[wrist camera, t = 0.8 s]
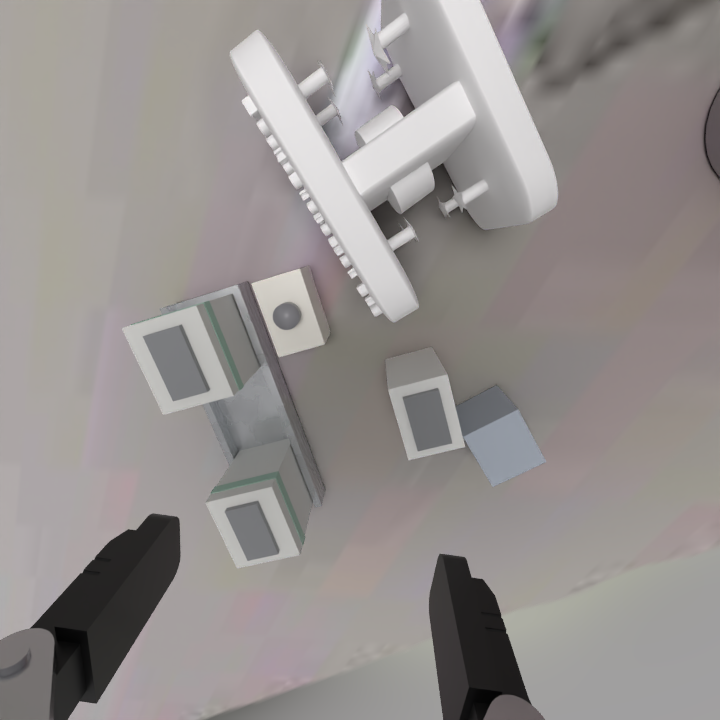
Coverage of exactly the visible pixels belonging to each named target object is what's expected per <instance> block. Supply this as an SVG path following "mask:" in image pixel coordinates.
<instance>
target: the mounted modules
mask: <svg viewBox="0 0 720 720" xmlns="http://www.w3.org/2000/svg"><path fill="white" fill-rule="evenodd" d="M122 330H123V332H124V334H125V336H126V338H127V340H128V343H129V345H130V347H131V349H132V351H133V353H134V355H135V357H136V359H137V361H138V363H139V365H140V367H141V370H142V372H143V374H144V376H145V378H146V380H147V382H148V384H149V386H150V388H151V390H152V392H153V395H154V397H155V399H156V401H157V403H158V405H159V407H160V409H161V411H162V413H163V415H165V414H169V413H172V412H176V411H180V410H183V409H187V408H191V407H195V406H198V405H202V404H206V403H209V402H213V401H217V400H220V399H224V398H228V397H231V396H234V395H235V394H236V393H237V392H238V391H240V390H241V389H242V388H243V387H244V384H245V383H246V382H247V381H248V380H249V379H250V378H251V377H252V376H253V375H254V374H255V373H256V371H257V370H258V369H259V368H260V367H261V366H260V363H259V361H258V358H257V355H256V353H255V350H254V348H253V345H252V342H251V340H250V337H249V335H248V332H247V329H246V327H245V324H244V322H243V319H242V317H241V314H240V311H239V309H238V306H237V304H236V301H235V298H234V296H233V293H232V294H229V295H226V296H222V297H219V298H216V299H212V300H209V301H206V302H203V303H199V304H196V305H193V306H189V307H186V308H183V309H180V310H176V311H173V312H170V313H167V314H163V315H160V316H157V317H154V318H150V319H147V320H144V321H141V322H137V323H134V324H131V326H128V327H125V328H122ZM312 503H313V500H312V498H311V495H310V492H309V490H308V487H307V485H306V482H305V480H304V477H303V474H302V472H301V469H300V467H299V464H298V461H297V459H296V456H295V454H294V451H293V448H292V446H291V443H290V441H289V438H288V439H284V440H280V441H276V442H272V443H269V444H265V445H261V446H257V447H253V448H249V449H245V450H241V451H239V452H238V454H237V455H236V457H235V458H234V460H233V461H232V463H231V465H230V466H229V468H228V469H227V471H226V472H225V474H224V475H223V477H222V478H221V480H220V481H219V483H218V484H217V486H215V487H214V489H213V490H212V492H211V495H210V497H209V498H208V500H207V501H206V505H207V507H208V509H209V511H210V513H211V515H212V517H213V519H214V521H215V524H216V526H217V528H218V530H219V532H220V534H221V536H222V538H223V540H224V542H225V544H226V546H227V549H228V551H229V553H230V555H231V557H232V559H233V561H234V563H235V565H236V567H237V568H242V567H246V566H251V565H256V564H260V563H265V562H270V561H274V560H279V559H284V558H288V557H293V556H298V555H300V553H301V549H302V545H303V544H304V540H305V532H306V528H307V524H308V520H309V515H310V511H311V507H312Z"/></svg>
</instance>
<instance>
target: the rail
mask: <svg viewBox="0 0 720 720" xmlns="http://www.w3.org/2000/svg"><path fill="white" fill-rule="evenodd" d="M232 293H233V296H234V298H235V301H236V304H237V306H238V309H239V311H240V314H241V317H242V319H243V322H244V324H245V327H246V329H247V332H248V335H249V337H250V340H251V342H252V345H253V348H254V350H255V353H256V355H257V358H258V361H259V363H260V366H261V367H260V368H259V369H258V370H257V371H256V373H255V374H254V375H253V376H252V377H251V378H250V379H249V380H248V381H247V382H246V383H245V384H244V387H243V388H242V389H241V390H240V391H238V392H237V393H236V394H235V395H234V396H231V397H228V398H224V399H220V400H217V401H213V402H209V403H206V404H202V405H203V407H204V409H205V412H206V414H207V416H208V418H209V421H210V423H211V425H212V427H213V430H214V432H215V434H216V436H217V439H218V441H219V443H220V445H221V448H222V450H223V452H224V454H225V457H226V459H227V461H228V463H229V466H230V465H231V463H232V461H233V460H234V458H235V457H236V455H237V454H238V452H239V451H241V450H245V449H249V448H253V447H257V446H261V445H265V444H269V443H272V442H276V441H280V440H284V439H288V438H289V441H290V443H291V446H292V448H293V451H294V454H295V456H296V459H297V461H298V464H299V467H300V469H301V472H302V474H303V477H304V480H305V482H306V485H307V487H308V490H309V492H310V495H311V498H312V500H313V503H314V505H315V507H320V506H322V502H323V497H324V492H325V488H324V485H323V482H322V479H321V477H320V474H319V471H318V469H317V466H316V463H315V461H314V458H313V455H312V453H311V450H310V447H309V444H308V442H307V439H306V436H305V434H304V431H303V428H302V426H301V423H300V420H299V418H298V415H297V412H296V410H295V407H294V404H293V401H292V399H291V396H290V393H289V391H288V388H287V385H286V383H285V380H284V377H283V375H282V372H281V369H280V366H279V364H278V361H277V358H276V356H275V353H274V350H273V348H272V345H271V342H270V340H269V337H268V334H267V332H266V329H265V326H264V323H263V321H262V318H261V315H260V313H259V310H258V307H257V305H256V302H255V299H254V297H253V294H252V291H251V289H250V286H249V283H248V282H245V283H242V284H238V285H235V286H231V287H229V288H225V289H222V290H219V291H216V292H213V293H209V294H206V295H203V296H200V297H196V298H193V299H190V300H187V301H183V302H180V303H177V304H174V305H170V306H167V307H163V308H160V311H161V313H162V315H163V314H167V313H170V312H173V311H176V310H180V309H183V308H186V307H189V306H193V305H196V304H199V303H203V302H206V301H209V300H212V299H216V298H219V297H222V296H226V295H229V294H232Z"/></svg>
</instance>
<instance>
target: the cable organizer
mask: <svg viewBox="0 0 720 720" xmlns="http://www.w3.org/2000/svg"><path fill="white" fill-rule="evenodd" d="M366 26H367V24H366ZM367 29H368V33H369V37H370V41H371V45H372V49H373V53H374V56H375V57H376V58H377V60H378V61H379V63H380V64H381V66H382V67H383V69H384V70H385V73H384V74H382V75H381V76H380V77H378V78H377V79H375V76H374V72H373V75H371V74H370V72H369V71H368V72H369V75H370V78H371V81H372V84H373V89H375V90H376V92H377V94H378V96H379V97H380V93H379V92H382V90H383V89H385V88H386V87H387V86H389V85H390V84H392V83H393V82H394V81H396V80H397V79H398V78H400V80H401V82H402V84H403V86H404V88H405V90H406V92H407V94H408V96H409V98H410V100H411V102H412V104H413V105H414V107H415V110H413V111H412V112H411V113H409V114H408V115H406V116H405V117H403V115H402V114H401V112H400V111H399V110H398V109H397V108H396V107H395V106H393V105H391V106H389V107H388V108H387V109H385V110H384V111H382V112H381V113H380V114H378V115H377V116H375V117H374V118H373V119H371V120H370V121H368V122H367V123H366V124H364V125H363V126H362V127H360V128H359V129H357V130H356V131H355V137H356V141H357V144H358V146H359V149H358V150H357V151H355V152H354V153H353V154H351V155H350V156H348V157H347V158H346V159H344V160H343V161H341V160H340V158H339V156H338V154H337V153H336V151H335V149H334V147H333V146H332V144H331V142H330V140H329V139H328V137H327V135H326V133H325V132H324V130H323V128H322V126H323V125H324V124H326V123H327V122H328V121H330V120H331V119H333V118H334V117H335V116H338V117H339V119H340V121H341V116H340V114H339V111H338V109H337V107H336V106H335V104H334V103H333V101H331V100H330V99H329V100H330V102H331V105H329V106H328V107H327V108H325V109H324V110H322V111H321V112H320V113H318V114H317V115H316V116H315V114H314V113H313V111H312V109H311V107H310V106H309V104H308V102H307V100H306V99H307V98H308V97H309V96H311V95H312V94H313V93H315V92H316V91H317V90H319V89H320V88H321V87H322V86H324V85H325V84H326V83H328V85H329V86H330V88H331V89H332V91H333V93H334V90H333V87H332V86H333V85H332V82H331V79H330V77H329V74H328V73H327V71H326V70H325V68H324V66H323V65H322V63H321V61H320V63H321V65H320V63H319V62H318V61H317V62H318V64H319V66H320V68H319V69H318V70H317V71H315V72H314V73H313V74H311V75H310V76H309V77H308V78H306V79H305V80H304V81H302V82H301V83H300V84H298V85H297V83H296V81H295V80H294V78H293V76H292V74H291V73H290V71H289V69H288V68H287V66H286V65H285V63H284V61H283V60H282V58H281V57H280V55H279V54H278V52H277V51H276V49H275V48H274V47H273V45H272V44H271V42H270V41H269V40H268V39H267V37H266V36H265V35H264V34H263V33H262V32H261V31H259V30H255V31H254V32H253V33H252V34H251V35H249V36H248V37H247V38H246V39H245V40H243V41H242V42H241V43H240V44H238V45H237V46H236V47H235V48H234V49H232V50H231V51H230V58H231V61H232V64H233V66H234V68H235V71H236V73H237V75H238V77H239V79H240V81H241V83H242V85H243V87H244V88H245V90H246V92H247V94H248V96H247V97H246V98H244V99H243V100H242V103H243V105H244V106H245V108H246V109H247V111H248V113H249V114H250V116H251V117H252V116H253V117H254V118H255V119H256V120H257V121H258V120H259V119H261V118H262V119H261V120H259V121H258V122H257V123H256V124H257V126H258V127H259V129H260V130H261V132H262V133H263V134H264V136H265V137H266V138H267V139H266V140H267V142H268V144H269V145H270V147H271V148H272V149H273V151H274V154H275V155H276V157H277V158H278V162H279V163H280V164H281V165H282V166H283V168H284V170H285V171H286V173H287V174H288V175H289V176H288V178H289V179H290V181H291V182H292V184H293V186H294V187H295V188H296V189H297V190H298V189H300V188H301V187H302V186H304V188H305V189H304V190H302V191H301V192H300V193H299V194H300V195H301V197H302V199H303V201H304V200H306V199H307V198H308V197H310V198H311V199H312V200H311V201H309V202H308V203H306V205H307V207H308V209H309V210H310V212H311V213H312V214H313V215H314V216H313V217H314V219H315V220H316V222H317V223H320V225H321V226H320V228H321V230H322V231H323V233H324V234H325V235H326V236H328V235H330V234H331V233H332V234H333V236H332V237H330V238H329V239H328V241H329V243H330V244H331V246H332V248H333V247H335V248H334V252H335V253H336V254H337V256H338V255H339V256H340V255H341V254H343V253H345V254H344V255H343V256H341V257H340V260H341V262H342V264H343V265H344V267H345V268H347V267H349V266H350V265H352V267H353V268H352V269H351V270H349V271H348V274H349V275H350V277H351V279H352V278H354V277H355V276H357V275H358V276H359V278H360V280H361V281H362V283H360V284H359V285H358V286H357V290H358V291H359V293H360V294H361V296H362V297H364V296H365V295H367V294H369V295H368V296H366V297H365V301H366V303H367V305H368V306H370V309H371V311H372V313H373V314H374V316H375V317H377V316H378V315H380V314H382V313H383V314H384V315H385V316H386V317H387V318H388V319H389V320H390V321H391V322H393V323H395V322H396V321H398V320H400V319H401V318H403V317H405V316H406V315H408V314H410V313H411V312H413V311H415V310H416V309H418V308H419V303H418V299H417V297H416V294H415V291H414V289H413V287H412V285H411V283H410V281H409V279H408V277H407V275H406V273H405V271H404V269H403V267H402V266H401V264H400V262H399V260H398V259H397V257H396V255H395V253H394V252H393V251H394V250H396V249H397V248H399V247H400V246H402V245H403V244H405V243H407V242H408V241H409V242H410V240H411V239H413V238H414V239H415V241H416V239H417V240H418V238H417V235H416V233H415V230H414V228H413V227H412V226H411V225H410V224H409V222H408V221H407V220H406V219H405V218H404V219H405V221H406V223H407V228H406V229H403V228H402V226H401V225H400V224H399V223H398V224H399V226H400V228H401V231H400V232H399V233H397V234H396V235H394V236H393V237H391V238H389V239H388V240H386V238H385V236H384V234H383V233H382V231H381V229H380V227H379V226H378V224H377V222H376V220H375V219H374V217H373V215H372V213H371V212H370V211H371V210H373V209H374V208H376V207H377V206H379V205H380V204H382V203H383V202H385V201H386V200H388V201H389V203H390V204H391V206H392V207H393V208H394V209H395V211H396V212H397V213H399V214H402V213H403V212H405V211H406V210H407V209H409V208H410V207H411V206H413V205H414V204H415V203H417V202H418V201H420V200H421V199H422V198H424V197H425V196H426V195H428V194H429V193H431V192H432V191H433V190H434V187H435V182H434V177H433V173H432V170H433V169H434V168H436V167H437V166H439V165H440V164H442V163H443V164H444V166H445V168H446V170H447V172H448V174H449V176H450V178H451V180H452V182H453V184H454V186H455V188H456V190H457V191H456V190H455V188H454V187H453V186H452V188H453V192H454V196H453V197H452V199H450V200H448V201H447V202H445V203H441V201H440V200H439V199H438V197H437V199H438V202H439V206H438V207H439V208H440V209H441V211H442V213H443V214H444V216H445V218H446V215H448V216H449V214H448V213H449V212H450V211H452V210H453V209H455V208H456V207H458V206H459V207H460V209H461V211H462V213H463V208H465V209H467V211H468V212H469V214H470V215H471V217H472V218H473V220H474V221H475V222H476V223H477V225H478V226H479V227H480V228H482V229H483V230H490V229H497V228H504V227H511V226H518V225H525V224H529V223H531V222H533V221H534V220H536V219H538V218H539V217H541V216H543V215H544V214H546V213H547V212H549V211H551V210H552V209H554V208H555V206H556V204H557V201H558V186H557V180H556V176H555V172H554V169H553V166H552V163H551V161H550V158H549V156H548V153H547V151H546V149H545V147H544V144H543V142H542V140H541V138H540V135H539V133H538V131H537V128H536V126H535V124H534V122H533V119H532V117H531V115H530V113H529V110H528V108H527V106H526V103H525V101H524V99H523V97H522V94H521V92H520V90H519V88H518V85H517V83H516V81H515V78H514V76H513V74H512V72H511V69H510V67H509V65H508V63H507V60H506V58H505V56H504V53H503V51H502V49H501V47H500V44H499V42H498V40H497V38H496V35H495V33H494V31H493V28H492V26H491V24H490V22H489V19H488V17H487V15H486V13H485V10H484V8H483V6H482V3H481V1H480V0H382V2H381V31H380V32H378V33H377V31H376V29H375V34H373V33H372V32H371V30H370V29H369V27H368V26H367ZM385 48H386V49H387V51H388V54H389V57H390V59H391V61H392V64H393V67H392V68H391V69H389V70H388V68H387V64H391V63H390V61H389V59H388V58H387V56H386V54H385V52H384V51H383V50H384V49H385ZM386 63H387V64H386ZM334 95H335V93H334ZM380 99H381V97H380ZM341 123H342V121H341ZM342 125H343V124H342ZM451 185H452V184H451ZM403 217H404V216H403ZM449 217H450V216H449ZM450 218H451V217H450ZM323 223H324V224H323ZM322 224H323V225H322ZM418 241H419V240H418ZM409 242H408V243H409ZM337 245H338V246H337ZM336 246H337V247H336ZM372 304H373V305H372Z"/></svg>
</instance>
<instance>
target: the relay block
mask: <svg viewBox="0 0 720 720" xmlns="http://www.w3.org/2000/svg"><path fill="white" fill-rule="evenodd" d="M455 407H456V411H457V415H458V420H459V424H460V428H461V432H462V436H463V438H464V439H465V441H466V443H467V444H468V446H469V448H470V449H471V451H472V453H473V455H474V456H475V458H476V460H477V461H478V463H479V465H480V466H481V468H482V470H483V471H484V473H485V475H486V476H487V478H488V480H489V482H490V483H491V485H492V487H494V486H496V485H498V484H500V483H502V482H504V481H507V480H509V479H511V478H513V477H515V476H517V475H519V474H521V473H524V472H526V471H528V470H530V469H532V468H534V467H536V466H539V465H541V464H543V463H545V462H546V460H545V459H544V457H543V455H542V453H541V451H540V449H539V447H538V445H537V444H536V442H535V440H534V438H533V436H532V434H531V432H530V431H529V429H528V427H527V425H526V423H525V421H524V419H523V418H522V416H521V414H520V412H519V410H518V409H517V407H516V406H515V405H514V404H513V403H512V402H511V401H510V400H509V398H508V397H507V396H506V395H505V394H504V393H503V392H502V390H501V389H500V388H499V387H498V386H497V385H496V386H494V387H492V388H490V389H488V390H486V391H484V392H482V393H480V394H479V395H477V396H475V397H473V398H471V399H469V400H467V401H465V402H463V403H461V404H459V405H457V406H455Z"/></svg>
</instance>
